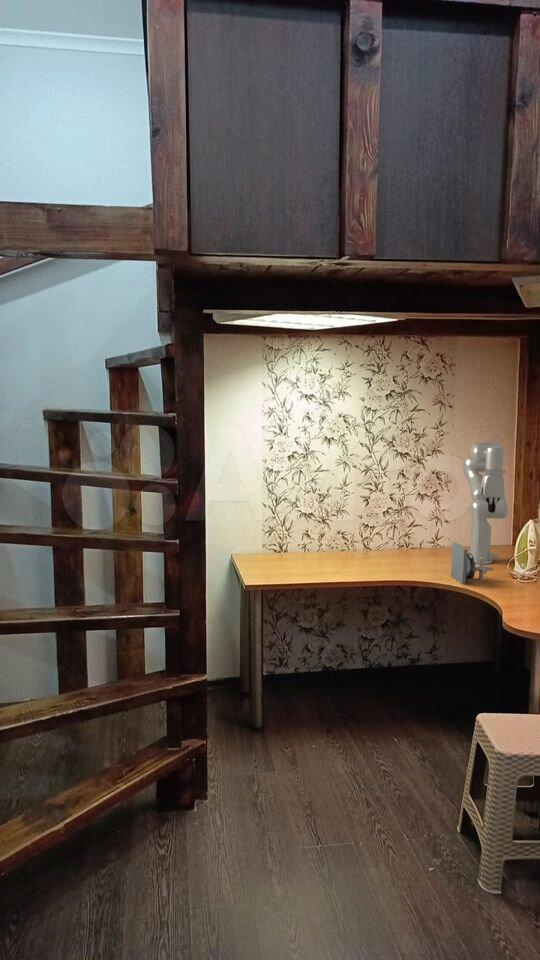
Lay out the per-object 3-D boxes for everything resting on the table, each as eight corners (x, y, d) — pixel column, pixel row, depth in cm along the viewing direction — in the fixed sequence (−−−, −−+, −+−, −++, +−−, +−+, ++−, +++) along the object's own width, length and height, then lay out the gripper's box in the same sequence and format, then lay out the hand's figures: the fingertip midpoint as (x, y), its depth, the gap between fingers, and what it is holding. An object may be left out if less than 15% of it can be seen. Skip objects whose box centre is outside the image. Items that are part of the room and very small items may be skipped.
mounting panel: (462, 575, 304) (464, 542, 301) (474, 584, 291) (476, 549, 289) (450, 576, 303) (452, 542, 301) (462, 584, 290) (464, 549, 288)
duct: (463, 574, 303) (465, 550, 301) (474, 582, 292) (476, 556, 290) (454, 575, 302) (455, 550, 301) (465, 582, 291) (466, 557, 289)
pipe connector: (466, 577, 303) (466, 555, 302) (488, 576, 303) (488, 555, 302) (473, 582, 293) (474, 560, 292) (495, 582, 293) (496, 560, 292)
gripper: (505, 472, 308) (502, 510, 310) (474, 472, 306) (472, 510, 309) (512, 474, 300) (510, 513, 303) (481, 474, 299) (479, 513, 301)
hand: (491, 512), depth 306 cm, fingers closed
